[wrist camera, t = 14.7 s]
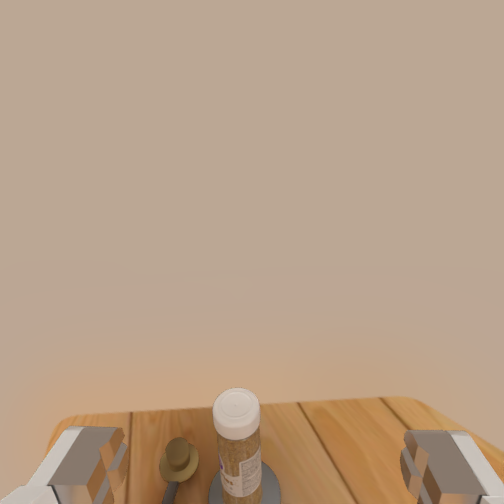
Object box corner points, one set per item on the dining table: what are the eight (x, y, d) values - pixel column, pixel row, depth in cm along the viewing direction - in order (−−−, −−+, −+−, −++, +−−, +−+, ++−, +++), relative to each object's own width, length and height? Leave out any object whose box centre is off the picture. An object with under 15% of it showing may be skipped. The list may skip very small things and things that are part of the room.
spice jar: (215, 490, 34) (203, 399, 29) (248, 466, 36) (243, 378, 32) (236, 530, 31) (227, 434, 26) (272, 500, 33) (269, 408, 28)
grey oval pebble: (279, 464, 38) (279, 458, 37) (282, 545, 30) (282, 538, 30) (215, 463, 38) (214, 456, 38) (203, 543, 31) (201, 536, 30)
